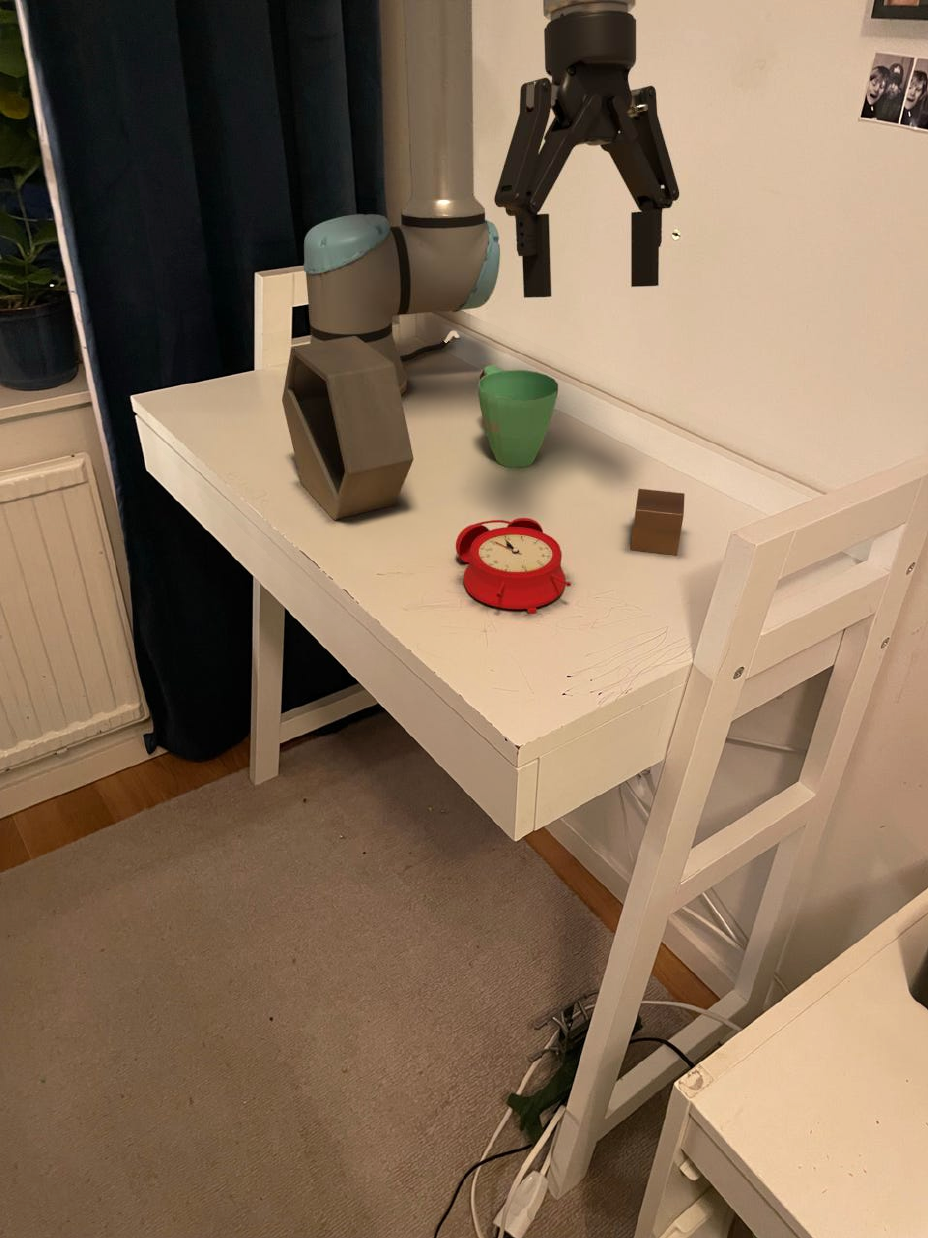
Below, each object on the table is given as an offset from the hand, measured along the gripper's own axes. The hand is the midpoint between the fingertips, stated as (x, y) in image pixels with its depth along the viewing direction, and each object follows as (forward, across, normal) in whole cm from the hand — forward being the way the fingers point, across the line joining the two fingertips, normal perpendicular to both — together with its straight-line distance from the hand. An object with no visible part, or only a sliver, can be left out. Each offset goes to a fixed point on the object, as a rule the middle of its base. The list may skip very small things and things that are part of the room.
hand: (593, 291), depth 84 cm
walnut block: (+27, +12, +3) cm, 30 cm away
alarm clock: (+28, -5, +8) cm, 29 cm away
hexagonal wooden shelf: (+22, -9, +32) cm, 40 cm away
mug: (+20, +14, +30) cm, 39 cm away
